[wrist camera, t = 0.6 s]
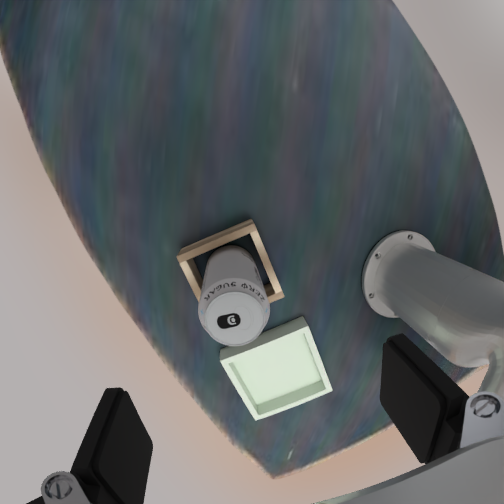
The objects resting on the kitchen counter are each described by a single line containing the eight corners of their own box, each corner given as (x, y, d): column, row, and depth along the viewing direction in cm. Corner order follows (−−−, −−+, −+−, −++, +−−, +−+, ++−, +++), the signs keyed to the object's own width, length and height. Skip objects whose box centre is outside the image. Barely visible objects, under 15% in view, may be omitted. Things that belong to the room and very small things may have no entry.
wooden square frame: (278, 285, 40) (284, 296, 36) (212, 312, 40) (211, 326, 37) (251, 218, 38) (254, 223, 34) (181, 248, 38) (176, 256, 34)
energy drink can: (259, 284, 40) (278, 343, 26) (213, 295, 40) (208, 358, 25) (249, 238, 39) (264, 276, 24) (201, 249, 38) (187, 293, 24)
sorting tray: (327, 379, 45) (332, 390, 42) (253, 407, 45) (255, 420, 42) (302, 315, 42) (308, 325, 39) (220, 349, 42) (220, 360, 39)
